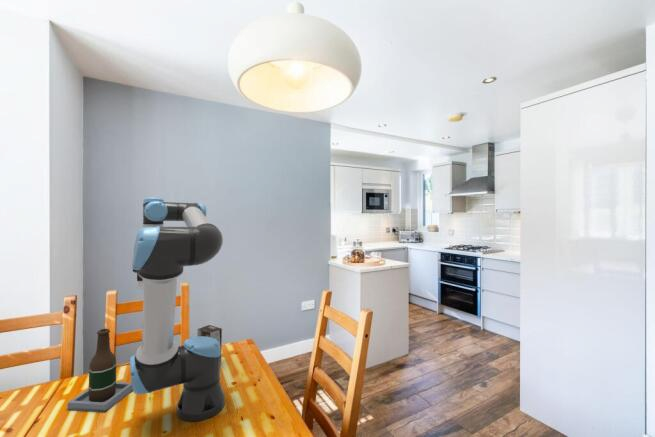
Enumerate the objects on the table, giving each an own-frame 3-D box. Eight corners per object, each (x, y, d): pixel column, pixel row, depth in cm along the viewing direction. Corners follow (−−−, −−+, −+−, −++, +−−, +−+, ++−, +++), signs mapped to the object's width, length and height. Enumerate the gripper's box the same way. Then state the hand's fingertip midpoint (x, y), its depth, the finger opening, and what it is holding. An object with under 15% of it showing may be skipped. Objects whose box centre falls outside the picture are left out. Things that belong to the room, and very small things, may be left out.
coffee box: (221, 364, 133) (222, 328, 133) (209, 370, 128) (210, 333, 128) (208, 359, 138) (209, 324, 138) (196, 364, 133) (197, 328, 133)
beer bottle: (101, 405, 102) (102, 335, 102) (82, 401, 104) (83, 332, 104) (121, 392, 110) (122, 327, 110) (103, 389, 111) (104, 325, 111)
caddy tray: (133, 389, 113) (133, 382, 113) (105, 412, 100) (105, 404, 100) (100, 387, 114) (100, 380, 114) (67, 409, 101) (67, 402, 101)
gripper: (162, 232, 138) (162, 278, 138) (122, 236, 113) (121, 292, 113) (178, 233, 138) (177, 279, 138) (141, 236, 113) (140, 292, 113)
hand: (152, 285), depth 126 cm, fingers open, 13 cm apart
